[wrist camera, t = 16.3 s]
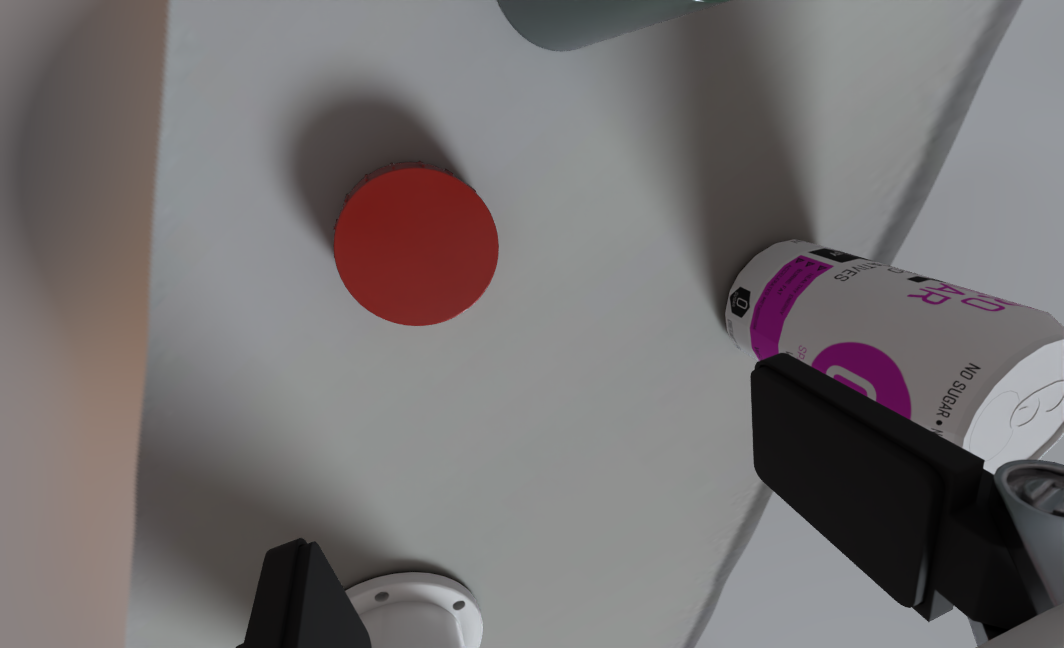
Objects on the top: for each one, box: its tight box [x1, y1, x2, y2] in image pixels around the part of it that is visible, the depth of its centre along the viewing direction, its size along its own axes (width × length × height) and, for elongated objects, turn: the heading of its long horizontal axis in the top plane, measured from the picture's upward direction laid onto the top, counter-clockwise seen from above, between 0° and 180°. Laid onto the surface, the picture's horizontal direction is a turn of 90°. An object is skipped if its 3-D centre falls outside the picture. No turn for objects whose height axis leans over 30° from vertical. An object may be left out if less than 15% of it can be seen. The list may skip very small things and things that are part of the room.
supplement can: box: [725, 239, 1064, 474], centre depth 27 cm, size 8×8×15 cm
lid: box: [334, 161, 499, 326], centre depth 24 cm, size 8×8×3 cm
